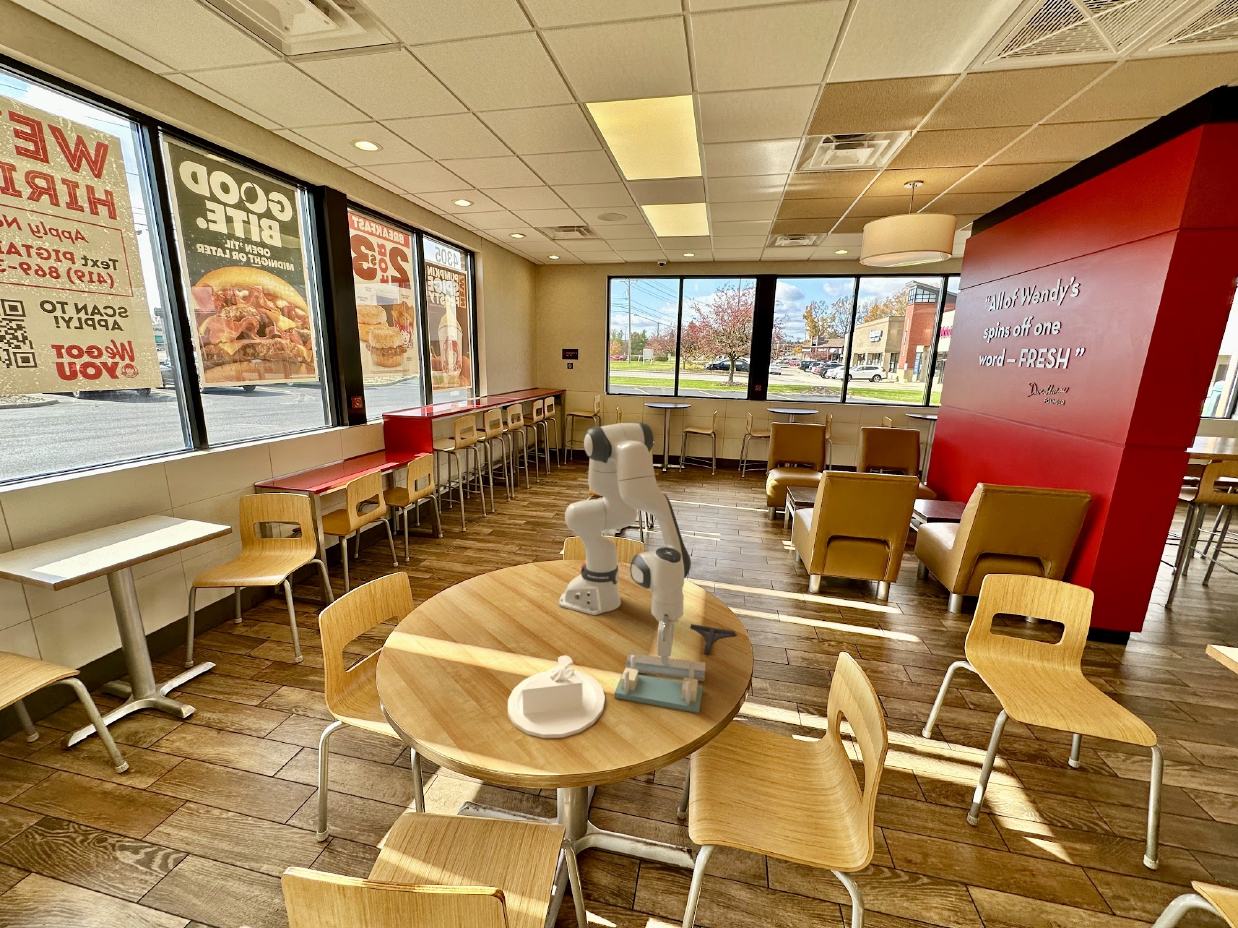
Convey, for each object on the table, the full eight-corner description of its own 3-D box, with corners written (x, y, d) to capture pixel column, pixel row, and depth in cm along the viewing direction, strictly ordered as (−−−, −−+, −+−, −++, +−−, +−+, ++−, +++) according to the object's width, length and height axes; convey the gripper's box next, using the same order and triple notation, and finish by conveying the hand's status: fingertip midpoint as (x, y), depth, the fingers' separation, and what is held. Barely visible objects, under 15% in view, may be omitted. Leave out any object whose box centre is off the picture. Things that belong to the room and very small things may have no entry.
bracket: (682, 652, 151) (682, 643, 151) (691, 627, 165) (691, 619, 164) (730, 661, 147) (731, 653, 146) (735, 635, 161) (735, 627, 160)
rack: (614, 697, 130) (614, 672, 128) (622, 676, 138) (623, 652, 136) (699, 712, 124) (700, 686, 123) (702, 690, 133) (703, 665, 131)
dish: (576, 663, 145) (576, 628, 142) (623, 714, 124) (623, 674, 122) (494, 692, 132) (492, 654, 129) (531, 754, 111) (529, 711, 109)
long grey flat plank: (626, 672, 141) (626, 661, 140) (628, 663, 145) (628, 653, 144) (704, 682, 137) (704, 670, 136) (704, 673, 140) (705, 662, 140)
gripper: (676, 627, 126) (675, 676, 128) (680, 591, 145) (679, 634, 148) (651, 624, 127) (651, 673, 129) (659, 590, 146) (658, 632, 149)
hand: (666, 652), depth 139 cm, fingers open, 8 cm apart
